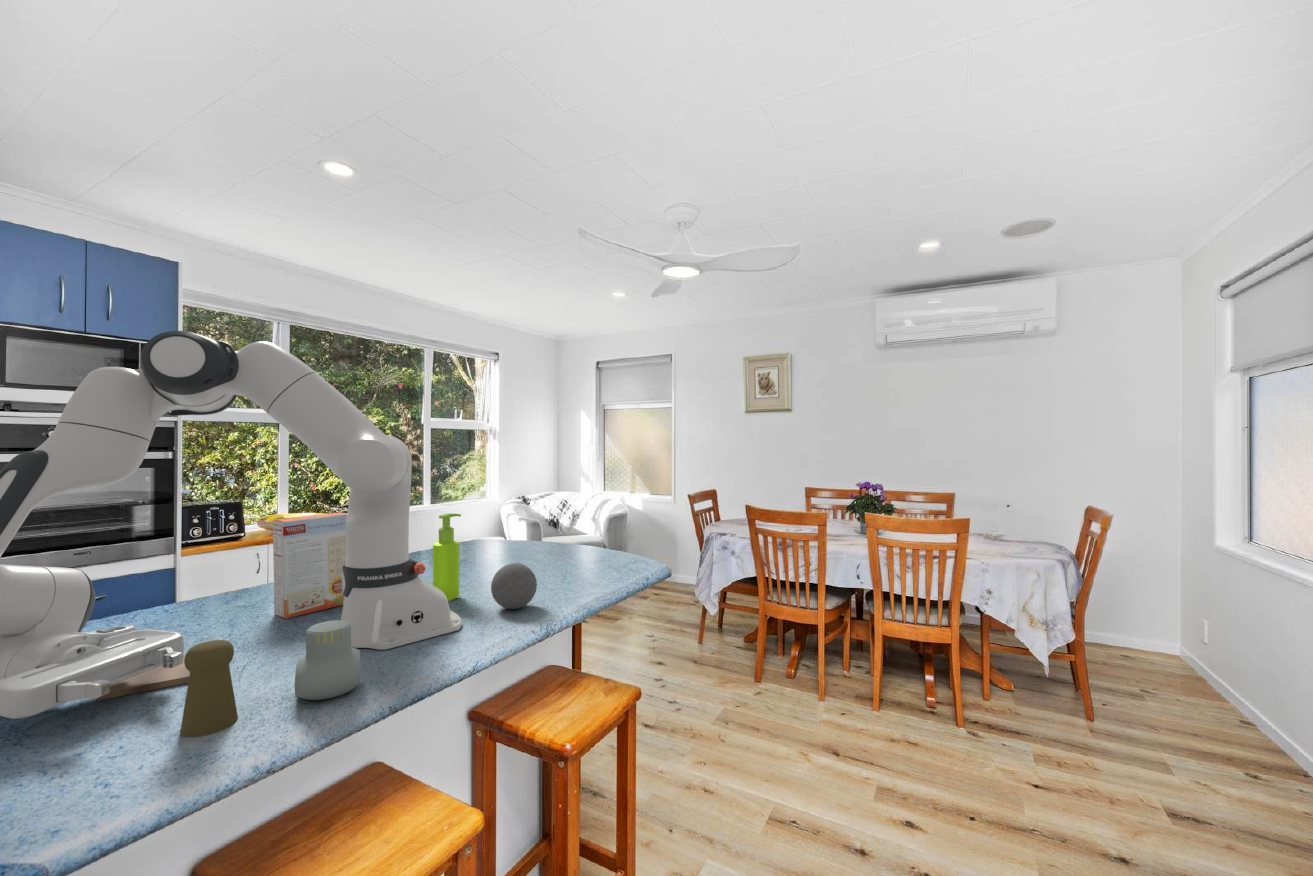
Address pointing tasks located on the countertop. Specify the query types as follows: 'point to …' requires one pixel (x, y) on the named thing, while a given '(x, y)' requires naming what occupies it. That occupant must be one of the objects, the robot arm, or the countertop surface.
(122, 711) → the countertop surface
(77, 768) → the countertop surface
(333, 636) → the air freshener
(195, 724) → the cork
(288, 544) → the cracker box
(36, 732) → the countertop surface
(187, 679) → the walnut board
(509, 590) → the decorative ball
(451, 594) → the soap dispenser
